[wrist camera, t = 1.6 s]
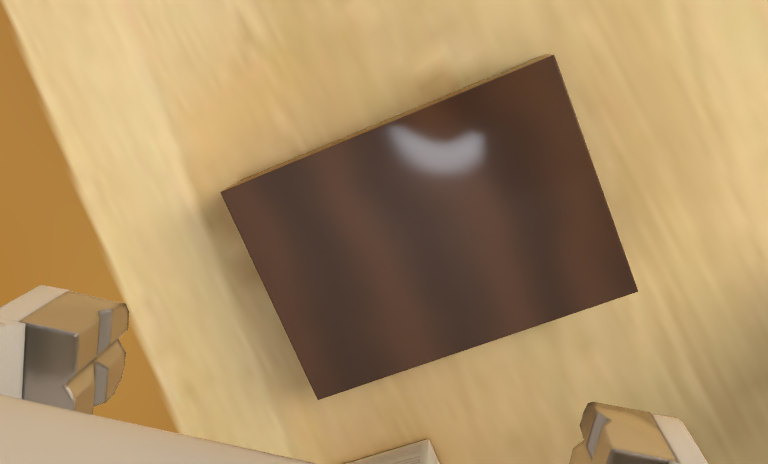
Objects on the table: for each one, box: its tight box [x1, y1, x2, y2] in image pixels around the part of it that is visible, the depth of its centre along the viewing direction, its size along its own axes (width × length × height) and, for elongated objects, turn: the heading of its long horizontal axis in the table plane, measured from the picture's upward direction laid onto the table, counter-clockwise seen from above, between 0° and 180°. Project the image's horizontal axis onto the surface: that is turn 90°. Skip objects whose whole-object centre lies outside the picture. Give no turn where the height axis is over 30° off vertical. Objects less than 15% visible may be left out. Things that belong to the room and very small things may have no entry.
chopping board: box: [221, 54, 638, 400], centre depth 42 cm, size 20×14×4 cm
